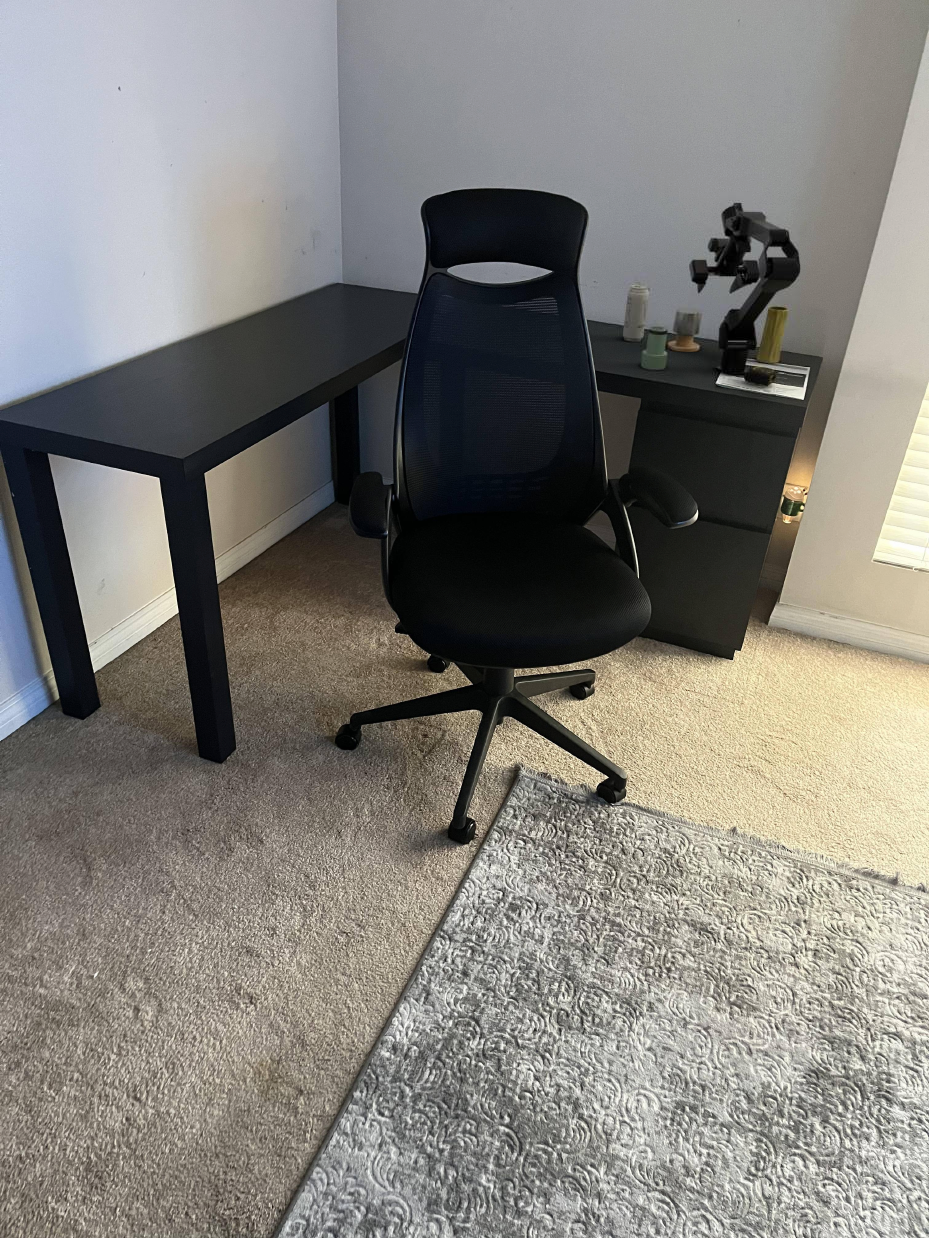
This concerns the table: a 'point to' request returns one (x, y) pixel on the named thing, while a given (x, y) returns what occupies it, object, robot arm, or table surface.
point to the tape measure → (760, 376)
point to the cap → (687, 321)
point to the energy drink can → (635, 313)
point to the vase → (772, 335)
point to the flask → (655, 349)
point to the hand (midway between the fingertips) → (714, 292)
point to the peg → (684, 344)
